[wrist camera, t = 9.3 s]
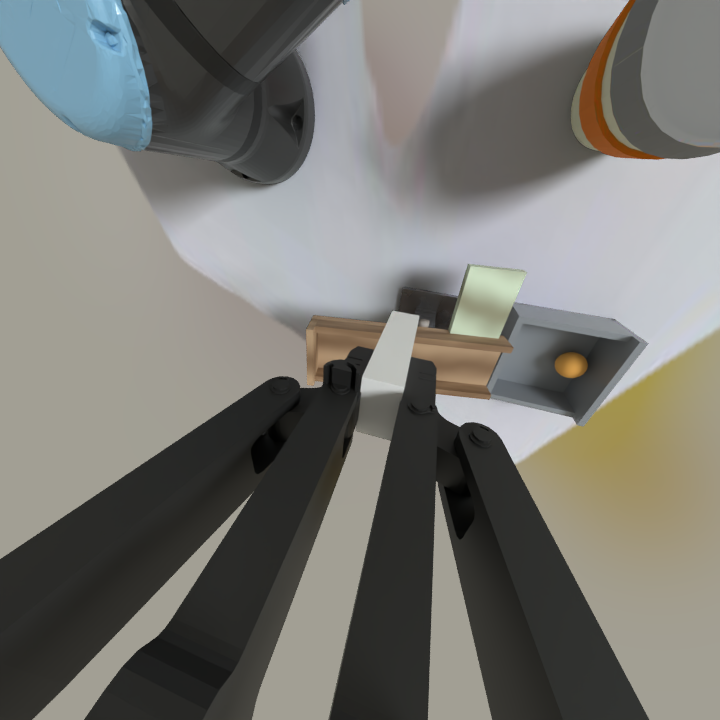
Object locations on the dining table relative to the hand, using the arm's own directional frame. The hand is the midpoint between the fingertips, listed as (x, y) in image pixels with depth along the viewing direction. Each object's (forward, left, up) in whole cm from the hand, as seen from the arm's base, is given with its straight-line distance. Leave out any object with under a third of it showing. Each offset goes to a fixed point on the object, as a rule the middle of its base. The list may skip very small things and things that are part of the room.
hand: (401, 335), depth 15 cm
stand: (+10, -5, -26) cm, 29 cm away
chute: (+6, -5, -19) cm, 20 cm away
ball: (+22, +12, -24) cm, 35 cm away
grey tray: (+20, +9, -26) cm, 34 cm away
